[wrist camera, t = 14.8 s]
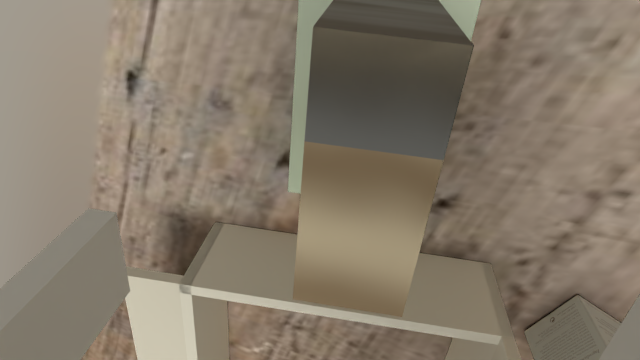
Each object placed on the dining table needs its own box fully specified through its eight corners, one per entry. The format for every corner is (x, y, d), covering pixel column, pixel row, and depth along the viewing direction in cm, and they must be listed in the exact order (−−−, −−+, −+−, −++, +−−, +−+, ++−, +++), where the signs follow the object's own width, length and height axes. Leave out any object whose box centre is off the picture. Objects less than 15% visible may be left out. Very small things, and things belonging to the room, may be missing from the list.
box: (396, 182, 30) (402, 317, 19) (324, 172, 30) (292, 299, 20) (434, -5, 23) (473, 45, 13) (344, -15, 24) (313, 26, 14)
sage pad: (425, 207, 31) (426, 211, 30) (289, 187, 32) (287, 191, 31) (489, -42, 23) (492, -41, 22) (304, -61, 23) (302, -61, 23)
